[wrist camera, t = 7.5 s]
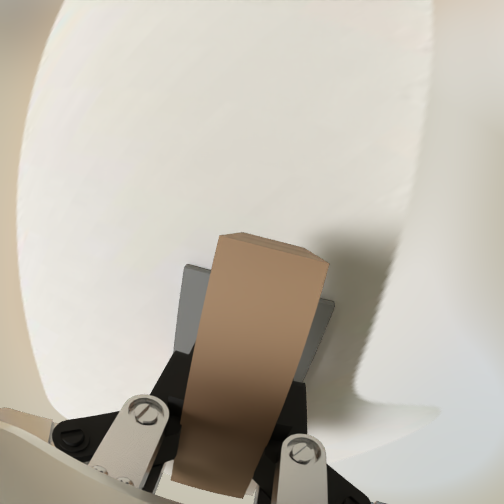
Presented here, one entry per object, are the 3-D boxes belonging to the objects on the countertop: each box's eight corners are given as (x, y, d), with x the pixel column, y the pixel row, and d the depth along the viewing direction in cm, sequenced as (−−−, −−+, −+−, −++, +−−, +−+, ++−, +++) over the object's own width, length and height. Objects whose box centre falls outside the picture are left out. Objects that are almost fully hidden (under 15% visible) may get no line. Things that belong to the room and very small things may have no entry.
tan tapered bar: (210, 224, 11) (163, 221, 6) (336, 256, 11) (383, 277, 6) (165, 460, 12) (135, 523, 7) (253, 483, 12) (246, 551, 7)
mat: (187, 263, 15) (184, 267, 15) (333, 301, 15) (334, 305, 14) (168, 432, 20) (167, 436, 20) (262, 456, 20) (261, 460, 19)
